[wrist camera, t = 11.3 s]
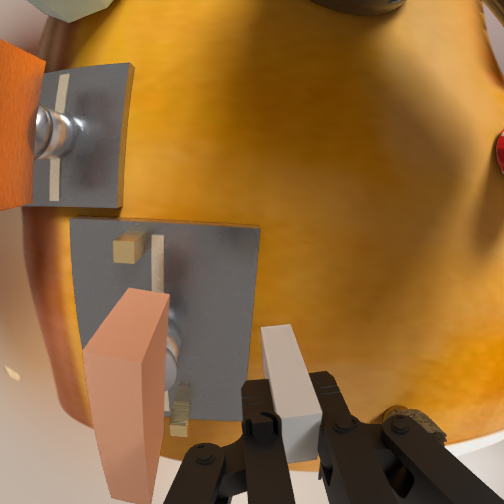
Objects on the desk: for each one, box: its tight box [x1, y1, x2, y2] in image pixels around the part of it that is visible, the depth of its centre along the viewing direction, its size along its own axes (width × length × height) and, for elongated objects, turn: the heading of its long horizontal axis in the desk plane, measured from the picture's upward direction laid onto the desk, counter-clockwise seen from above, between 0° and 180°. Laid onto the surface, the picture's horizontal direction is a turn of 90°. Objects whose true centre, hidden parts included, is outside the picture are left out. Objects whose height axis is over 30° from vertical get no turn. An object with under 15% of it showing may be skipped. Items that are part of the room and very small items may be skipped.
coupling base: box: [70, 216, 260, 437], centre depth 26 cm, size 20×16×6 cm
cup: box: [382, 405, 447, 446], centre depth 30 cm, size 8×7×8 cm
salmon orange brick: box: [83, 288, 177, 504], centre depth 18 cm, size 4×13×9 cm, turn 171°
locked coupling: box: [0, 39, 135, 211], centre depth 17 cm, size 12×12×14 cm
